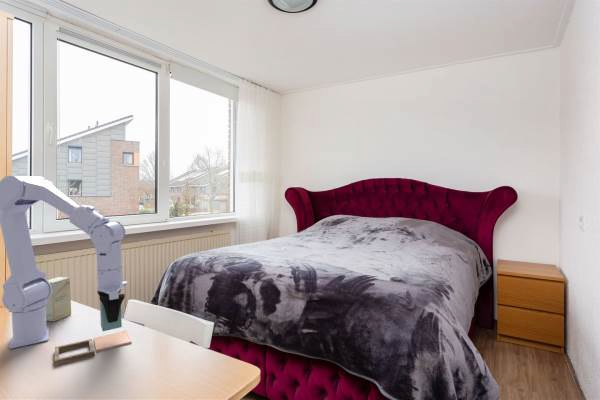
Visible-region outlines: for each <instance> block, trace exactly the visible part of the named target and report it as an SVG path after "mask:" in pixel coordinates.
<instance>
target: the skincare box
mask: <svg viewBox="0 0 600 400" xmlns="http://www.w3.org/2000/svg"><path fill="white" fill-rule="evenodd" d="M47 280H48V281H49V283H50V284H51V287H52V293H51V295H50V296H49V297H48V298H47V303H45V305H46V322H57V321H60V320H61V319H64V318H67V317H69V316H71V315H72V298H71V281H70V280H71V279H70V277H69V276H66V277H65V276H57V277H54V278H50V279H47Z"/></svg>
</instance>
